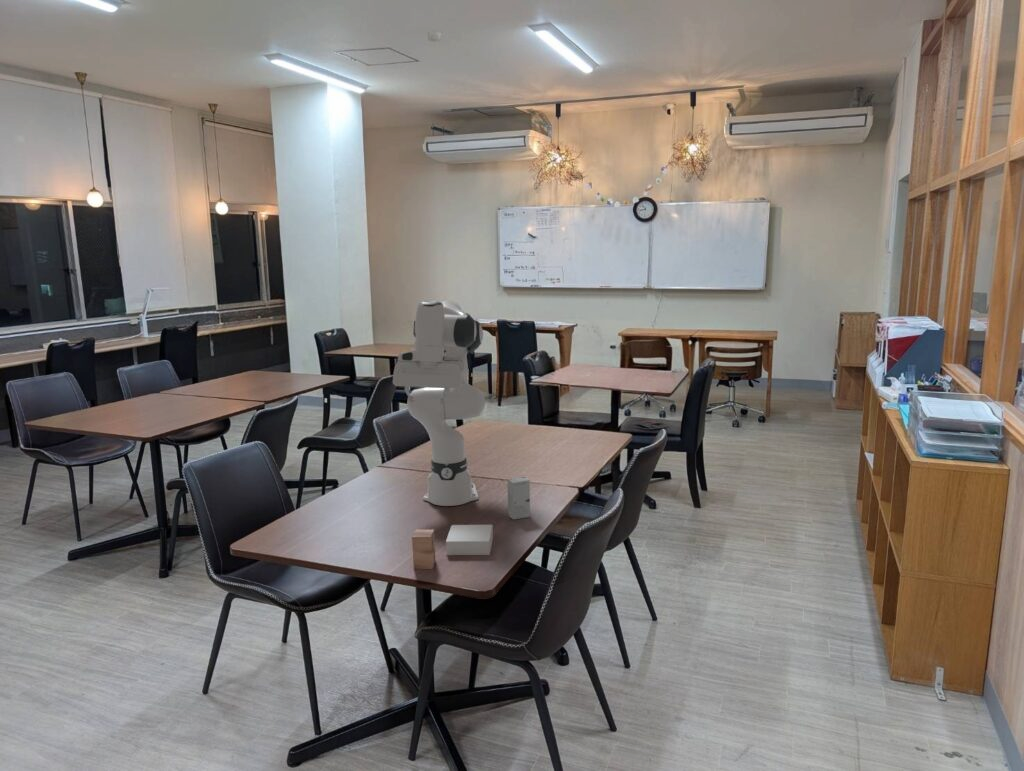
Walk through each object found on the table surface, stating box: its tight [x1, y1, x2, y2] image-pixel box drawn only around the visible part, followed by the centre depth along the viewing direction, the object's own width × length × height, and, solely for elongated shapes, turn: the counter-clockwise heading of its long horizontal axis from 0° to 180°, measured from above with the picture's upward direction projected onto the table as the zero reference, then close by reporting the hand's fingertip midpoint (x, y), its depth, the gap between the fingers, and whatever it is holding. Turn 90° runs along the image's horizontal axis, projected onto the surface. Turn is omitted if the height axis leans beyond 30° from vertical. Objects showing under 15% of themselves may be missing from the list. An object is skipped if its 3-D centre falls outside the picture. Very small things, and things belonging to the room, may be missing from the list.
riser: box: [445, 524, 494, 556], centre depth 198 cm, size 12×12×4 cm
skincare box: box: [506, 476, 531, 520], centre depth 219 cm, size 6×4×12 cm
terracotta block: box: [411, 529, 436, 570], centre depth 186 cm, size 5×5×9 cm
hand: (426, 402), depth 206 cm, fingers open, 8 cm apart
